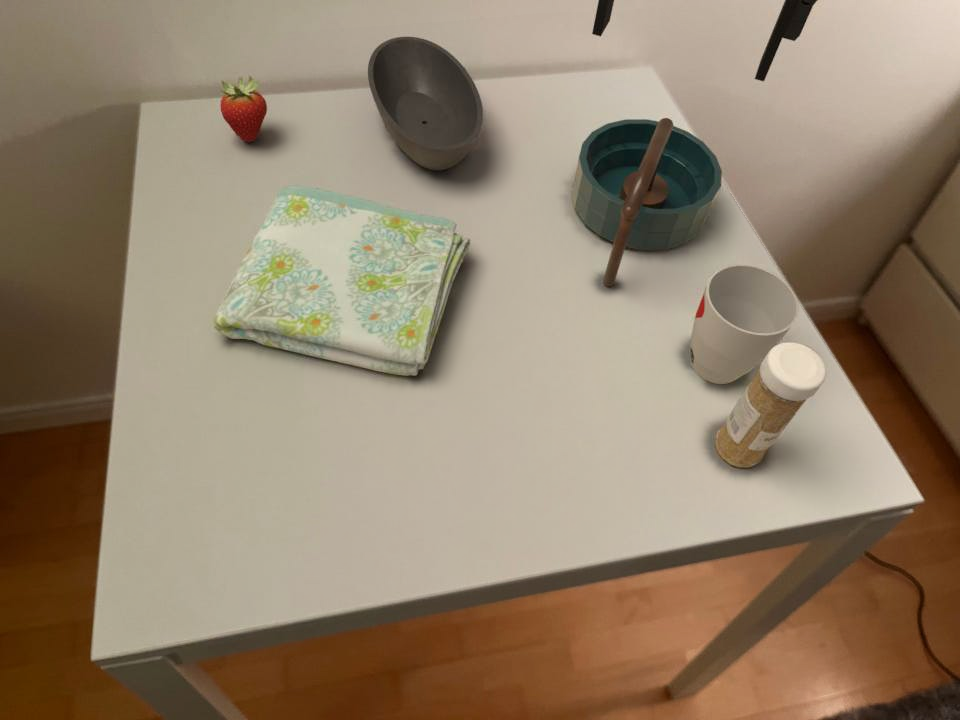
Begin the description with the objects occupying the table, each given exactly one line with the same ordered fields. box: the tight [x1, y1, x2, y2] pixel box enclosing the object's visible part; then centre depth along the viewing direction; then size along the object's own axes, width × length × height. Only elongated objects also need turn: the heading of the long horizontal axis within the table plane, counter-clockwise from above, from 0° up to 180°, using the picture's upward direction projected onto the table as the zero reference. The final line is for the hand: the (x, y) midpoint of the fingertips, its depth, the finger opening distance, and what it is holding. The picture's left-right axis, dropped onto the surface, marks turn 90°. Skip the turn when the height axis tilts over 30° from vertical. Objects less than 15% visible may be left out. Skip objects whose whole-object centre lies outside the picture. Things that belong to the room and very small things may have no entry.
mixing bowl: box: [570, 118, 723, 251], centre depth 83 cm, size 16×16×6 cm
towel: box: [212, 184, 471, 377], centre depth 73 cm, size 18×21×5 cm
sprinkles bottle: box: [714, 341, 827, 469], centre depth 62 cm, size 5×5×14 cm
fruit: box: [217, 75, 268, 143], centre depth 85 cm, size 5×5×8 cm
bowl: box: [367, 36, 484, 172], centre depth 88 cm, size 12×22×6 cm, turn 19°
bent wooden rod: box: [602, 117, 674, 287], centre depth 77 cm, size 16×5×12 cm, turn 158°
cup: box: [689, 263, 800, 385], centre depth 69 cm, size 8×8×10 cm
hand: (679, 49), depth 60 cm, fingers open, 13 cm apart
